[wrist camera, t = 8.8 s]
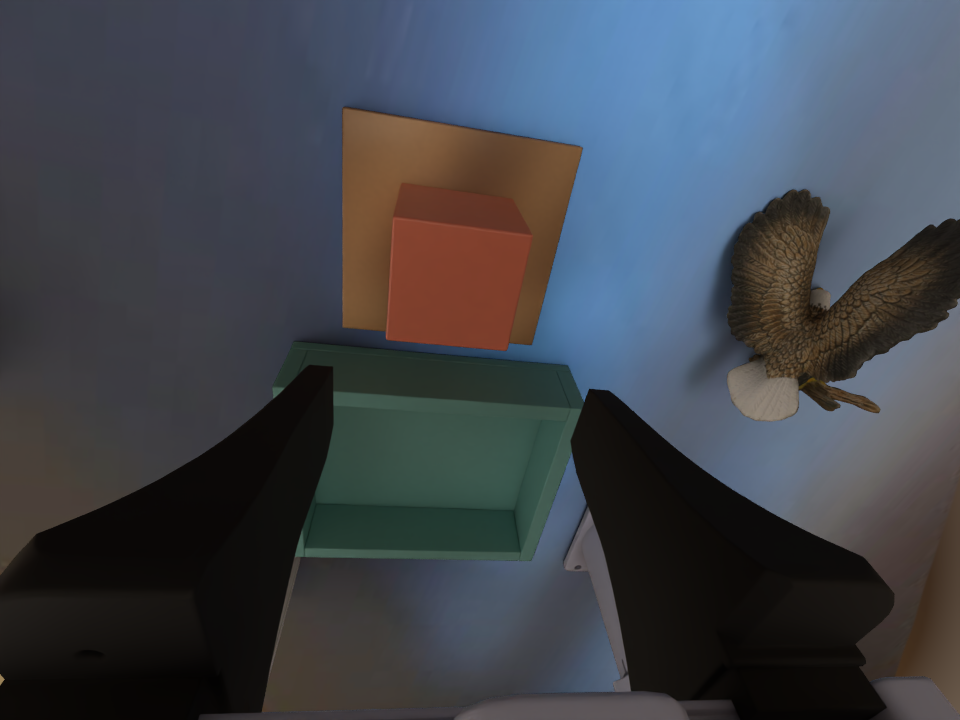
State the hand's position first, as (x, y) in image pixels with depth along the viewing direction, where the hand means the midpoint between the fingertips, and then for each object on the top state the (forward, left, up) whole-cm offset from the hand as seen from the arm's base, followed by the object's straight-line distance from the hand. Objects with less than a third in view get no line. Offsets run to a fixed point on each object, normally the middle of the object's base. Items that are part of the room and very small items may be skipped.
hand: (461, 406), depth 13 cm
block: (0, -2, -9) cm, 9 cm away
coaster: (0, -2, -9) cm, 9 cm away
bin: (0, +10, -9) cm, 14 cm away
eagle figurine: (-16, -1, -9) cm, 19 cm away
